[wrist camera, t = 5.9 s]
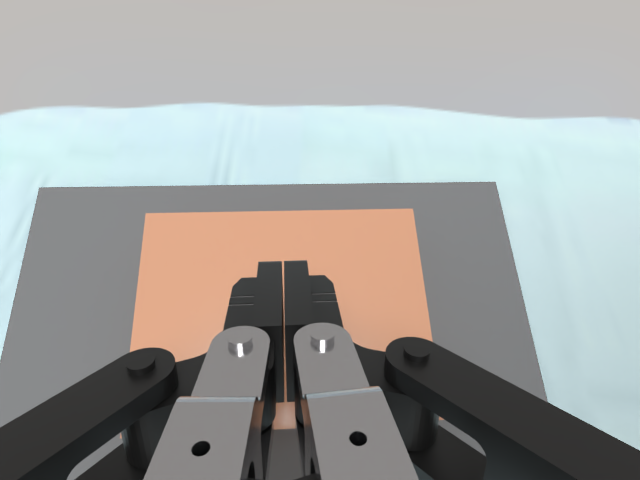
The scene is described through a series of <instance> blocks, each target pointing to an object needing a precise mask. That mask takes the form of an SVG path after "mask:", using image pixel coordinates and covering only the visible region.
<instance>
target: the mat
mask: <svg viewBox="0 0 640 480" xmlns="http://www.w3.org/2000/svg"><path fill="white" fill-rule="evenodd" d="M359 209H413V213H414V219H415V226H416V233H417V239H418V246H419V253H420V260H421V266H422V273H423V280H424V287H425V293H426V300H427V307H428V313H429V320H430V327H431V334H432V340H433V342H434V343H436V344H438V345H439V346H441V347H443V348H445V349H447V350H449V351H451V352H453V353H455V354H457V355H458V356H460V357H462V358H464V359H466V360H468V361H470V362H472V363H474V364H476V365H477V366H479V367H481V368H483V369H485V370H487V371H489V372H491V373H493V374H495V375H497V376H498V377H500V378H502V379H504V380H506V381H508V382H510V383H512V384H514V385H516V386H517V387H519V388H521V389H523V390H525V391H527V392H529V393H531V394H533V395H535V396H536V397H538V398H540V399H542V400H544V401H546V402H547V397H546V393H545V389H544V385H543V380H542V376H541V372H540V368H539V363H538V359H537V355H536V351H535V347H534V342H533V338H532V334H531V330H530V325H529V321H528V317H527V313H526V309H525V304H524V300H523V296H522V292H521V287H520V283H519V279H518V275H517V270H516V266H515V262H514V258H513V254H512V249H511V245H510V241H509V237H508V232H507V228H506V224H505V220H504V216H503V211H502V207H501V203H500V199H499V194H498V190H497V186H496V182H448V183H368V184H288V185H208V186H129V187H49V188H39V191H38V196H37V200H36V204H35V209H34V213H33V218H32V222H31V227H30V231H29V236H28V240H27V244H26V249H25V253H24V258H23V262H22V267H21V271H20V276H19V280H18V284H17V289H16V293H15V298H14V302H13V307H12V311H11V316H10V320H9V324H8V329H7V333H6V338H5V342H4V347H3V351H2V356H1V360H0V427H2V426H4V425H5V424H7V423H9V422H10V421H12V420H14V419H16V418H17V417H19V416H21V415H22V414H24V413H26V412H27V411H29V410H31V409H33V408H34V407H36V406H38V405H39V404H41V403H43V402H45V401H46V400H48V399H50V398H51V397H53V396H55V395H57V394H58V393H60V392H62V391H63V390H65V389H67V388H68V387H70V386H72V385H74V384H75V383H77V382H79V381H80V380H82V379H84V378H86V377H87V376H89V375H91V374H92V373H94V372H96V371H98V370H99V369H101V368H103V367H104V366H106V365H108V364H109V363H111V362H113V361H115V360H116V359H118V358H120V357H121V356H123V355H125V354H127V353H129V352H130V345H131V337H132V328H133V319H134V311H135V302H136V293H137V284H138V276H139V267H140V258H141V250H142V241H143V232H144V223H145V215H146V213H187V212H244V211H301V210H359ZM438 425H440V426H441V427H443V428H444V429H446V430H447V431H449V432H450V433H452V434H453V435H455V436H456V437H458V438H459V439H461V440H462V441H464V442H465V443H467V444H468V445H470V446H471V447H473V448H474V449H476V450H477V451H479V452H480V453H482V454H483V455H485V456H486V454H485V452H484V450H483V449H482V447H481V446H480V445H479V443H478V442H477V441H476V440H474V439H473V438H472V437H470V436H469V435H467V434H466V433H464V432H463V431H461V430H459V429H458V428H456V427H455V426H453V425H452V424H450V423H449V422H447V421H446V420H439V423H438ZM120 433H121V432H120ZM120 433H119V434H118V435H116V436H115V437H114V438H112V439H111V440H110V441H108V442H107V443H105V444H104V445H103V446H101V447H100V448H99V449H97V450H96V451H95V452H93V453H92V454H90V455H89V456H88V457H86V458H85V459H84V460H82V461H81V462H80V463H79V464H77V465H76V466H75V467H74V469H73V470H72V471H71V473H70V474H69V476H68V478H67V480H74V479H76V478H77V477H78V476H80V475H81V474H82V473H84V472H85V471H86V470H88V469H89V468H90V467H92V466H93V465H94V464H96V463H97V462H98V461H99V460H101V459H102V458H103V457H105V456H106V455H107V454H109V453H110V452H111V451H113V450H114V449H115V448H117V447H118V446H119V445H121V444H122V443H123V440H122V438H121V439H120ZM301 477H302V475H301V467H300V460H299V452H298V444H297V437H296V429H295V428H294V429H277V430H274V434H273V443H272V452H271V460H270V469H269V478H268V480H294V479H298V478H301Z"/></svg>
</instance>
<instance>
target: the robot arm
mask: <svg viewBox="0 0 640 480" xmlns="http://www.w3.org/2000/svg"><path fill="white" fill-rule="evenodd" d="M284 310H285V353H286V386H287V402H295V429H296V437H297V444H298V452H299V460H300V467H301V475H302V477H301V478H298V479H294V480H640V451H639V450H637V449H635V448H634V447H632V446H630V445H628V444H626V443H624V442H622V441H620V440H618V439H616V438H614V437H613V436H611V435H609V434H607V433H605V432H603V431H601V430H599V429H597V428H595V427H594V426H592V425H590V424H588V423H586V422H584V421H582V420H580V419H578V418H576V417H575V416H573V415H571V414H569V413H567V412H565V411H563V410H561V409H559V408H557V407H555V406H554V405H552V404H550V403H548V402H546V401H544V400H542V399H540V398H538V397H536V396H535V395H533V394H531V393H529V392H527V391H525V390H523V389H521V388H519V387H517V386H516V385H514V384H512V383H510V382H508V381H506V380H504V379H502V378H500V377H498V376H497V375H495V374H493V373H491V372H489V371H487V370H485V369H483V368H481V367H479V366H477V365H476V364H474V363H472V362H470V361H468V360H466V359H464V358H462V357H460V356H458V355H457V354H455V353H453V352H451V351H449V350H447V349H445V348H443V347H441V346H439V345H438V344H436V343H434V342H432V341H429V340H427V339H423V338H419V337H402V338H398V339H395V340H393V341H392V342H390V343H389V344H388V346H387V348H386V352H385V351H379V350H373V349H368V348H365V347H362V346H360V345H357V344H356V343H354V342H353V341H352V338H351V336H350V334H349V333H348V332H347V331H346V330H345V329H344V328H343V323H342V319H341V315H340V310H339V306H338V302H337V297H336V294H335V289H334V284H333V282H332V281H331V280H329V279H328V278H327V277H326V276H325V275H309V271H308V263H307V260H295V261H284ZM282 402H284V311H283V278H282V261H263V262H258V269H257V277H249V278H241V279H240V280H239V281H238V282H236V283H235V284H234V285H233V287H232V291H231V296H230V300H229V306H228V309H227V314H226V319H225V323H224V328H223V331H222V332H220V333H219V334H217V335H216V336H215V337H214V338H213V340H212V341H211V344H210V346H209V349H208V352H206V353H204V354H202V355H200V356H197V357H194V358H190V359H186V360H182V361H179V362H175V357H174V355H173V354H172V353H171V352H170V351H168V350H166V349H162V348H156V347H150V348H142V349H138V350H135V351H132V352H129V353H127V354H125V355H123V356H121V357H120V358H118V359H116V360H115V361H113V362H111V363H109V364H108V365H106V366H104V367H103V368H101V369H99V370H98V371H96V372H94V373H92V374H91V375H89V376H87V377H86V378H84V379H82V380H80V381H79V382H77V383H75V384H74V385H72V386H70V387H68V388H67V389H65V390H63V391H62V392H60V393H58V394H57V395H55V396H53V397H51V398H50V399H48V400H46V401H45V402H43V403H41V404H39V405H38V406H36V407H34V408H33V409H31V410H29V411H27V412H26V413H24V414H22V415H21V416H19V417H17V418H16V419H14V420H12V421H10V422H9V423H7V424H5V425H4V426H2V427H0V480H67V478H68V476H69V474H70V473H71V471H72V470H73V469H74V467H75V466H76V465H77V464H79V463H80V462H81V461H82V460H84V459H85V458H86V457H88V456H89V455H90V454H92V453H93V452H95V451H96V450H97V449H99V448H100V447H101V446H103V445H104V444H105V443H107V442H108V441H110V440H111V439H112V438H114V437H115V436H116V435H118V434H119V433H120V432H121V436H122V440H123V443H122V444H121V445H119V446H118V447H117V448H115V449H114V450H113V451H111V452H110V453H109V454H107V455H106V456H105V457H103V458H102V459H101V460H99V461H98V462H97V463H96V464H94V465H93V466H92V467H90V468H89V469H88V470H86V471H85V472H84V473H82V474H81V475H80V476H78V477H77V478H76V479H74V480H268V478H269V469H270V460H271V452H272V443H273V434H274V419H275V416H276V403H282ZM439 416H440V417H441V418H443V419H444V420H446V421H447V422H449V423H450V424H452V425H453V426H455V427H456V428H458V429H459V430H461V431H463V432H464V433H466V434H467V435H469V436H470V437H472V438H473V439H474V440H476V441H477V442H478V443H479V445H480V446H481V447H482V449H483V450H484V452H485V454H486V456H485V455H483V454H482V453H480V452H479V451H477V450H476V449H474V448H473V447H471V446H470V445H468V444H467V443H465V442H464V441H462V440H461V439H459V438H458V437H456V436H455V435H453V434H452V433H450V432H449V431H447V430H446V429H444V428H443V427H441V426H440V425H438V423H439Z"/></svg>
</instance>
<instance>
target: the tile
mask: <svg viewBox="0 0 640 480" xmlns="http://www.w3.org/2000/svg"><path fill="white" fill-rule="evenodd" d="M295 260H307V263H308V271H309V275H325V276H326V277H327V278H328V279H329V280H331V281H332V282H333V284H334V289H335V294H336V297H337V302H338V306H339V310H340V315H341V319H342V323H343V328H344V329H345V330H346V331H347V332H348V333H349V334H350V336H351V338H352V341H353V342H354V343H356V344H357V345H360V346H362V347H365V348H368V349H373V350H379V351H385V352H386V348H387V346H388V344H389V343H390V342H392V341H393V340H395V339H398V338H402V337H419V338H423V339H427V340H429V341H432V342H433V340H432V334H431V327H430V320H429V313H428V307H427V300H426V293H425V287H424V280H423V273H422V266H421V260H420V253H419V246H418V239H417V233H416V226H415V219H414V213H413V209H359V210H301V211H244V212H187V213H146V215H145V223H144V232H143V241H142V250H141V258H140V267H139V276H138V284H137V293H136V302H135V311H134V319H133V328H132V337H131V345H130V352H132V351H135V350H138V349H142V348H150V347H156V348H162V349H166V350H168V351H170V352H171V353H172V354H173V355H174V357H175V362H179V361H182V360H186V359H190V358H194V357H197V356H200V355H202V354H204V353H206V352H208V349H209V346H210V344H211V341H212V340H213V338H214V337H215V336H216V335H217V334H219V333H220V332H222V331H223V328H224V323H225V319H226V314H227V309H228V306H229V300H230V296H231V291H232V287H233V285H234V284H235V283H236V282H238V281H239V280H240V279H241V278H249V277H257V269H258V262H263V261H282V278H283V311H284V402H282V403H276V416H275V419H274V430H277V429H294V428H295V402H287V386H286V353H285V310H284V261H295ZM439 420H444V419H443V418H441V417H440V416H439ZM121 438H122V436H121V433H120V439H121Z"/></svg>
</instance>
